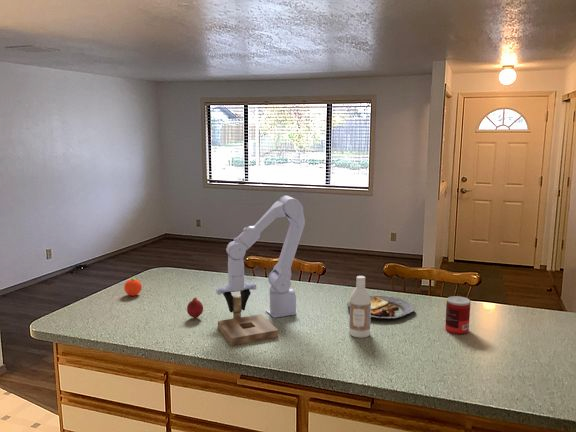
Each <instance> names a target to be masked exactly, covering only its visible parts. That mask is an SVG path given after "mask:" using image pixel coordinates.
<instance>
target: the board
mask: <svg viewBox="0 0 576 432" xmlns="http://www.w3.org/2000/svg"><path fill="white" fill-rule="evenodd" d="M217 328H218V330H219V331H220V332H221V334H222V336H224V337H225V339H226V340H227V342H228V343H229V344H230V345H231V346H233V347H234V346H237V345H243V344H248V343H249V344H250V343H253V342H258V341H259V342H260V341H265V340H270V339H276V338H279V329H278V328H277V327H275V326H274V325H273V324H272V323H271V322H270V321H269V320H268V319H267V318H266V317H265V316H263V315H262V314H261V313H260V314H259V313H258V314H253V315H252V314H251V315H248V316H241V317H240V318H234V319H233V318H229V319H222V320H217Z"/></svg>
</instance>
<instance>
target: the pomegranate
mask: <svg viewBox="0 0 576 432" xmlns="http://www.w3.org/2000/svg"><path fill="white" fill-rule="evenodd" d="M186 312H187V314H188V315H189V317H191V318H194V319H195V318H196V319H197V318H199V317H200V316H201V315H202V313H203V312H204V305H203V303H202V302H201V301H200V300H199V299H198V298H197V297H196V296H194V297H193V298H192V300H191V301H189V302H188V304H187V307H186Z"/></svg>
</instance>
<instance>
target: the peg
mask: <svg viewBox="0 0 576 432" xmlns="http://www.w3.org/2000/svg"><path fill="white" fill-rule="evenodd" d="M232 296H233V301H232V306H233V312H232V319H234V318H240V317H242V311H243V310H242V304H241V295H232Z"/></svg>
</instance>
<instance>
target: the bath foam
mask: <svg viewBox="0 0 576 432" xmlns="http://www.w3.org/2000/svg"><path fill="white" fill-rule="evenodd" d="M355 280H356V281H355V282H356V283H355V284H356V285H355V288H354V289H353V291H352V292H351V294H350V297H349V301H350V309H349V321H348V322H349V327H348V328H349V331H348V332H349V334H350V336H351V337H354V338H360V339H362V338H363V339H364V338H367V337H369V336H370V335H371V318H372V317H371V298H370V296H371V295H370V293H369V291H368V289H366V276H364V275H357V276H356V279H355Z"/></svg>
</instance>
